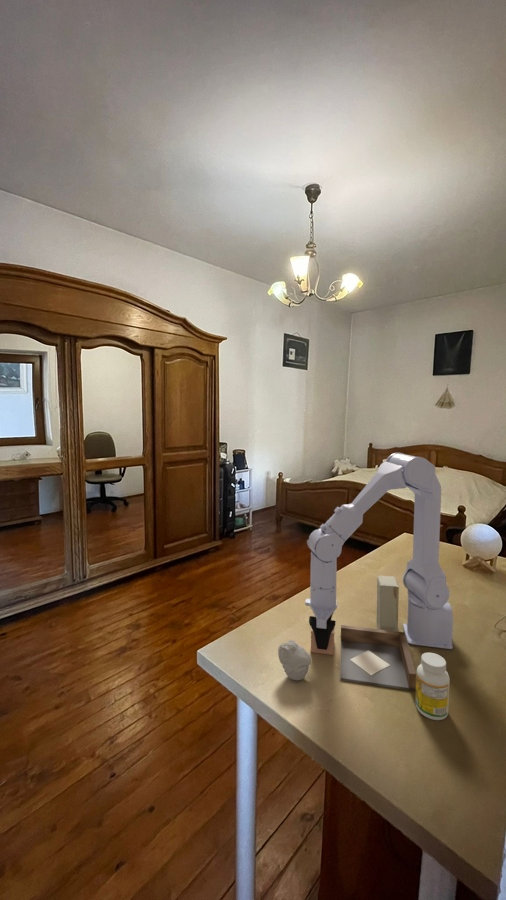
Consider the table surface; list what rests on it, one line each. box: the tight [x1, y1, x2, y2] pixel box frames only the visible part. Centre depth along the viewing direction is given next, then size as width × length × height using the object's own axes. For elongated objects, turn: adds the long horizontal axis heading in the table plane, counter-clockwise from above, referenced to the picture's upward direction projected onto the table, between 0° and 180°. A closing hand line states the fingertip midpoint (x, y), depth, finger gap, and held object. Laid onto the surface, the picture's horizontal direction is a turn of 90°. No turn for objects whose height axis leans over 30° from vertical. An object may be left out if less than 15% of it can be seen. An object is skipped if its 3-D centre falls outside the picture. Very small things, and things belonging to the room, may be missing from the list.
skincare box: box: [376, 575, 400, 632], centre depth 93 cm, size 6×4×12 cm
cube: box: [310, 627, 335, 656], centre depth 86 cm, size 5×5×5 cm
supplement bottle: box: [415, 651, 451, 721], centre depth 68 cm, size 5×5×10 cm
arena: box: [339, 624, 417, 692], centre depth 81 cm, size 14×14×4 cm
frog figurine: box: [277, 639, 312, 681], centre depth 77 cm, size 6×7×7 cm
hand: (322, 640), depth 86 cm, fingers closed on cube, 5 cm apart
